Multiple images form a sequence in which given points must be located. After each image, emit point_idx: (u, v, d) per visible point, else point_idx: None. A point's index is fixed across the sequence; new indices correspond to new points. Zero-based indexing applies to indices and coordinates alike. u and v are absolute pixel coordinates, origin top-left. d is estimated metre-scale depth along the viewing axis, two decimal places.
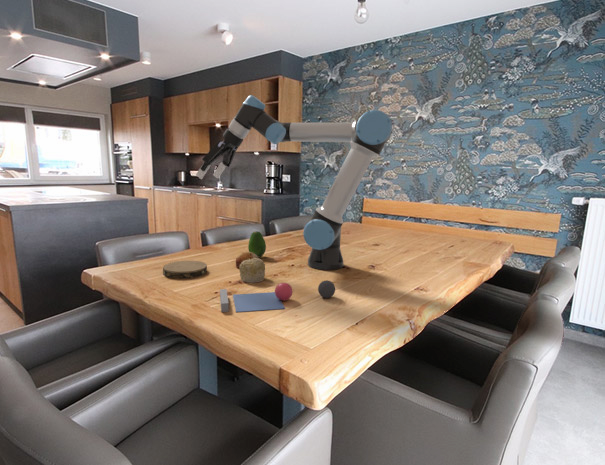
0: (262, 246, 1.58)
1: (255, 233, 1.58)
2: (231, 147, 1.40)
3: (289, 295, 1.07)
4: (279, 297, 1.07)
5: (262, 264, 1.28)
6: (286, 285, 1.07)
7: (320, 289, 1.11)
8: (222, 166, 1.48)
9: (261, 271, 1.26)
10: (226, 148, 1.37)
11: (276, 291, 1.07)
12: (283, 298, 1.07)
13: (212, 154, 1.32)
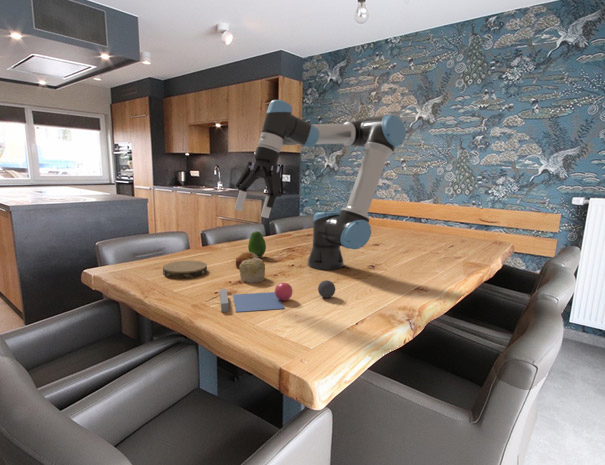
0: (262, 246, 1.58)
1: (255, 233, 1.58)
2: None
3: (289, 295, 1.07)
4: (279, 297, 1.07)
5: (262, 264, 1.28)
6: (286, 285, 1.07)
7: (320, 289, 1.11)
8: (243, 194, 1.17)
9: (261, 271, 1.26)
10: None
11: (276, 291, 1.07)
12: (283, 298, 1.07)
13: (279, 183, 1.07)
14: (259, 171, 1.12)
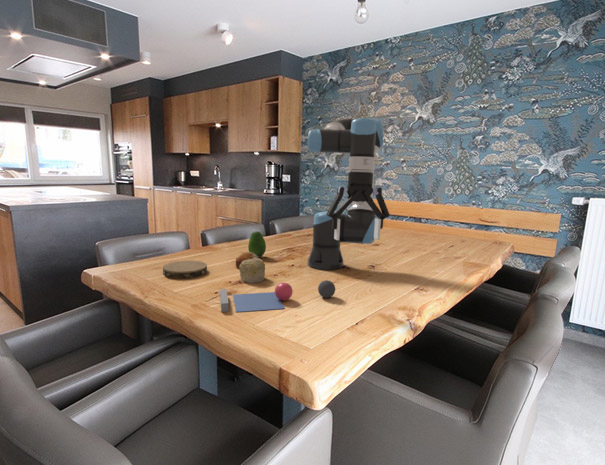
0: (262, 246, 1.58)
1: (255, 233, 1.58)
2: None
3: (289, 295, 1.07)
4: (279, 297, 1.07)
5: (262, 264, 1.28)
6: (286, 285, 1.07)
7: (320, 289, 1.11)
8: None
9: (261, 271, 1.26)
10: None
11: (276, 291, 1.07)
12: (283, 298, 1.07)
13: None
14: (360, 196, 1.09)
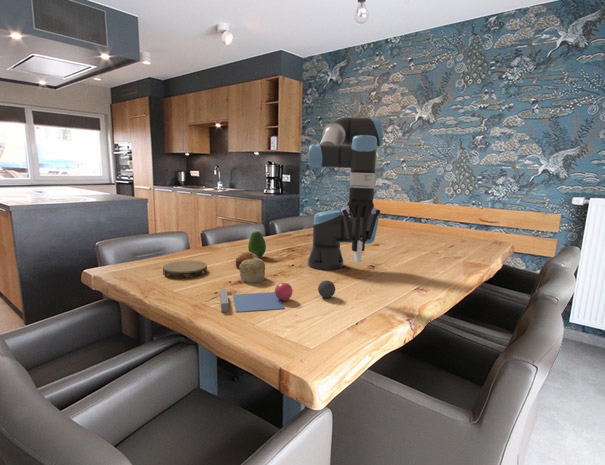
0: (262, 246, 1.58)
1: (255, 233, 1.58)
2: None
3: (289, 295, 1.07)
4: (279, 297, 1.07)
5: (262, 264, 1.28)
6: (286, 285, 1.07)
7: (320, 289, 1.11)
8: None
9: (261, 271, 1.26)
10: None
11: (276, 291, 1.07)
12: (283, 298, 1.07)
13: None
14: (361, 211, 1.09)
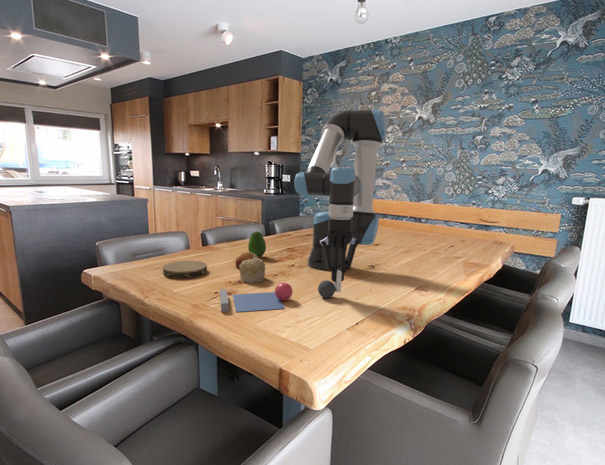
0: (262, 246, 1.58)
1: (255, 233, 1.58)
2: None
3: (289, 295, 1.07)
4: (279, 297, 1.07)
5: (262, 264, 1.28)
6: (286, 285, 1.07)
7: (320, 289, 1.11)
8: None
9: (261, 271, 1.26)
10: None
11: (276, 291, 1.07)
12: (283, 298, 1.07)
13: None
14: (340, 242, 1.09)
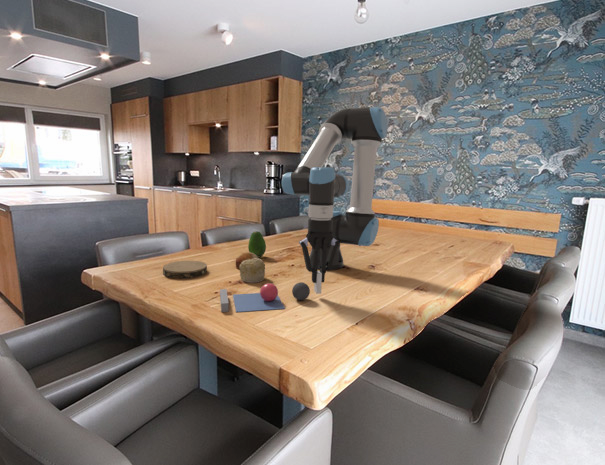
0: (262, 246, 1.58)
1: (255, 233, 1.58)
2: None
3: (271, 290, 1.05)
4: (274, 299, 1.07)
5: (262, 264, 1.28)
6: (261, 293, 1.06)
7: (308, 295, 1.10)
8: None
9: (261, 271, 1.26)
10: None
11: (268, 301, 1.07)
12: (274, 295, 1.06)
13: None
14: (320, 243, 1.08)
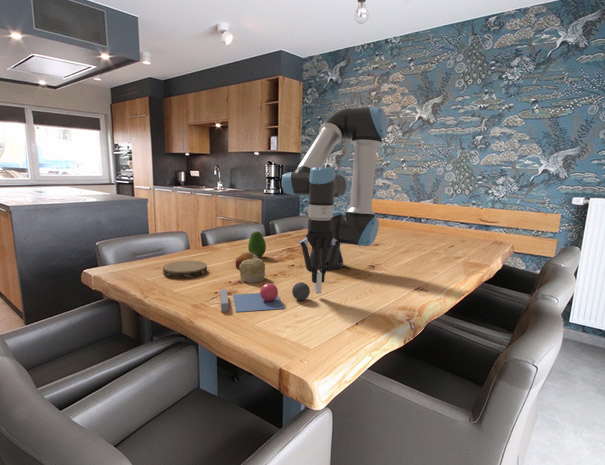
0: (262, 246, 1.58)
1: (255, 233, 1.58)
2: None
3: (271, 290, 1.05)
4: (274, 299, 1.07)
5: (262, 264, 1.28)
6: (261, 293, 1.06)
7: (308, 295, 1.10)
8: None
9: (261, 271, 1.26)
10: None
11: (268, 301, 1.07)
12: (274, 295, 1.06)
13: None
14: (320, 243, 1.08)
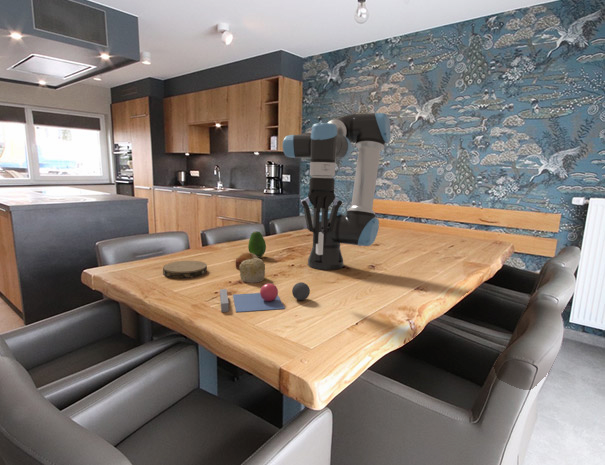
0: (262, 246, 1.58)
1: (255, 233, 1.58)
2: None
3: (271, 290, 1.05)
4: (274, 299, 1.07)
5: (262, 264, 1.28)
6: (261, 293, 1.06)
7: (308, 295, 1.10)
8: None
9: (261, 271, 1.26)
10: None
11: (268, 301, 1.07)
12: (274, 295, 1.06)
13: None
14: (321, 202, 1.06)
